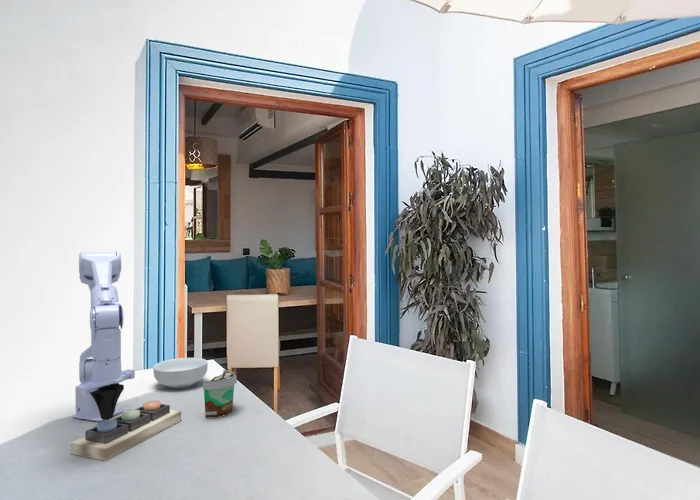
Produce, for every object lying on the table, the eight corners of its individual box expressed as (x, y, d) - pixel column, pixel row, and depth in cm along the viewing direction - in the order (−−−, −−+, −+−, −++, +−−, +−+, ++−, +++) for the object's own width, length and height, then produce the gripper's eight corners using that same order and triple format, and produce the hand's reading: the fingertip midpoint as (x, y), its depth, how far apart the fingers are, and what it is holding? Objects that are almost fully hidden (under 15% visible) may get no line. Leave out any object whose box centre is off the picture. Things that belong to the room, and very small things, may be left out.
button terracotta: (139, 412, 117) (139, 404, 117) (151, 406, 121) (151, 399, 121) (152, 413, 116) (152, 406, 116) (163, 408, 120) (163, 401, 120)
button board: (70, 453, 102) (70, 433, 102) (150, 416, 125) (150, 399, 125) (106, 460, 99) (106, 439, 99) (181, 420, 122) (181, 403, 122)
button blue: (92, 433, 104) (92, 425, 104) (107, 426, 108) (107, 418, 108) (106, 435, 103) (106, 427, 103) (120, 428, 107) (120, 421, 107)
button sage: (117, 422, 111) (117, 414, 111) (130, 416, 115) (130, 408, 115) (131, 424, 110) (131, 416, 110) (143, 418, 113) (143, 410, 113)
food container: (224, 421, 121) (224, 383, 121) (202, 419, 123) (202, 381, 123) (244, 405, 134) (244, 370, 133) (224, 404, 135) (224, 369, 135)
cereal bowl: (170, 376, 163) (170, 356, 163) (215, 378, 160) (215, 358, 160) (142, 391, 146) (142, 369, 146) (192, 394, 144) (192, 371, 144)
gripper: (93, 367, 97) (93, 432, 97) (144, 352, 111) (144, 409, 111) (67, 364, 99) (68, 428, 99) (121, 350, 113) (121, 406, 113)
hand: (106, 418), depth 105 cm, fingers closed
